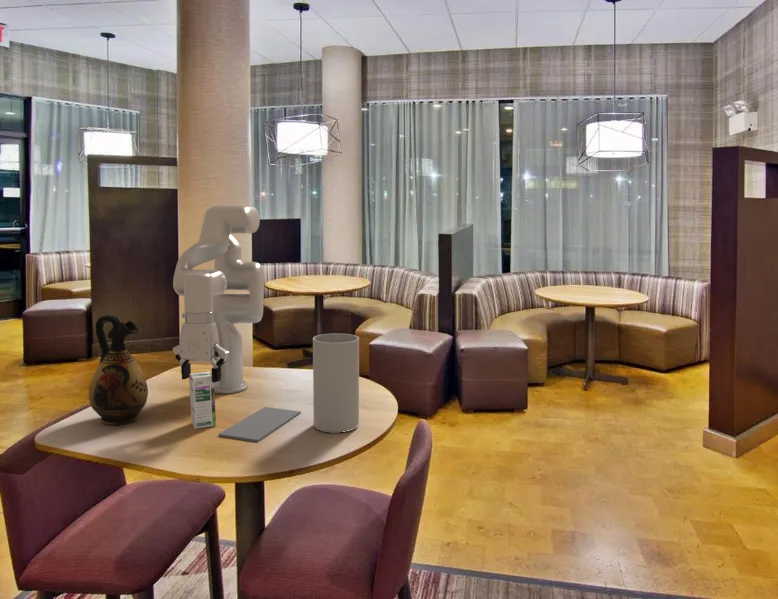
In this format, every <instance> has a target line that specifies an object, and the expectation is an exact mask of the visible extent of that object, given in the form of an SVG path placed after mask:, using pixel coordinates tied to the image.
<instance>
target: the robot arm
mask: <svg viewBox="0 0 778 599" xmlns="http://www.w3.org/2000/svg"><path fill="white" fill-rule="evenodd" d="M260 223H261V222H260V213H259V211H258V210H257V208H256V207H255V206H247V205H213V206H211V207H209V208H207V209H206V210H205V213H204V217H203V221H202V224H201V225H202V226H201V230H200V233H199V238H198V241H197V242H195V243H194V244H192V245H191V246H190V247H189V248H187V249H186V250H185V251H183V253H182V254H181V255H180V256H179V257H178V261H177V263H176V266H175V271H174V274H173V279H172V280H173V281H172V283H173V284H172V287H173V290H174V292H175V293H176V295H179V296H182V297H183V302H184V312H183V313H182V314H181V317H182V318H184V322H182V324H181V329H180V334H179V335H180V337H179V344H178V345H176V346H174V347H172V352H173V354H174V355H175V356H174V357H175V359H176V360H177V361H178V364H179V366H180V371H181V373H180V374H181V379H182V380H186V379H189V374H192V373H191V372H192V371H191V370H192V369H191V367H192V366H191V364H192V363H191V362H190V361H195V362H209V363H210V365H211V366H212V368H211V373H212V382H213V383H214V388H215V394H234V393H239V392H244V391H246V390H247V389H248V388H249V383H248V382H247V381H244V372H243V370H244V369H243V365H244V362H243V337H242V334H241V331H240V330H239V328H238V327H237V326H236V324H257V323H259V322H261V321H262V318H263V315H264V297H265V296H264V295H265V292H264V291H265V287H264V286H265V276H264V270H263V267H262V265H261V263H259V262H257V261H242V251H243V250H242V246H241V244H240V242H239V241H238V240H237V238H235V237H234V236H233V234H253V233H256V232H257V230H259V227H260ZM212 260H214V265H213V266H214V267H213V268H214V269H195V268H196V267H197V266H200V265H202V264H205V263H207V262H211V261H212ZM225 291H247V292H249V293H224V292H225Z"/></svg>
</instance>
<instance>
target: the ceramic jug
mask: <svg viewBox="0 0 778 599" xmlns="http://www.w3.org/2000/svg"><path fill="white" fill-rule="evenodd" d="M107 323H111V325H112V327H111V329H110V330H109V331H108V332H107V337H106V333H105V331H104V325H105V324H107ZM94 326H95V327H94V328H95V334H96V337H97V341H98V344H99V347H100V349H101V356H100V359H99V364H98V366H97V368H96V369H95V372H94V373H93V376H92V378H91V381H90V385H89V388H88V389H89V390H88V400H89V404H90V406H91V409H92V410H93V411H94V412H95V413H96V414H97V415H99V417H100V421H101V423H103V424H104V425H108V426H113V427H114V426H115V427H119V426H122V425H129V424H132V423H135V422H136V420H137V419H138V415H139V413H141V411H142V410H143V408H144V407H145V405H146V404H147V400H148V396H149V388H148V383H147V379H146V375H145V373H144V371H143V370H142V368H141V366H140V365H139V363H138V362H137V360H136V359H135V357H133V355H132V354H131V353H130V351H129V350H128V349H127V347H126V345H125V340H126V339H127V338H129V337H131V336H134V335H136V334H138V333H139V332H140V330H139V328H138V327H137V325H136V324H135V323H134V322H133V321H131V320H129V321H127V322H124V321H122V322H121V321H120V319H119V318H118V317H117V316H115V315H113V314H107V313H106V314H104V315H102V316H100V317H98V319H97V321H96V322H95V325H94ZM107 338H108V339H111V344H110V347H109V344H108V342H107Z"/></svg>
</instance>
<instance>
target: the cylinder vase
mask: <svg viewBox="0 0 778 599" xmlns="http://www.w3.org/2000/svg"><path fill="white" fill-rule="evenodd" d="M312 380H313V381H312V384H313V385H312V386H313V387H312V388H313V390H312V392H313V393H312V394H313V395H312V398H313V405H312V406H313V426H314V428H315V429H316V430H318V431H319V430H320V431H319V432H322V431H323V433H326V432H329V433H328V434H339V433H338V432H343V431H347V430H350V429H353V428H355V427H356V426H357V425H358V424H360V337H359V336H357V335H354V334H351V333H338V332H337V333H334V332H333V333H323V334H318V335H315V336H313V337H312ZM358 426H359V425H358ZM358 426H357V427H358ZM355 429H356V428H355Z"/></svg>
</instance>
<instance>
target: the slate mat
mask: <svg viewBox="0 0 778 599" xmlns="http://www.w3.org/2000/svg"><path fill="white" fill-rule="evenodd" d="M300 413H301V414H302V411H301V410H299V411H298V410H293V409H292V410H291V409H283V408H275V407H269V406H268V407H267V406H265V407H262V408H261V409H259V410H258V411H256V412H254V413H252V414H251V415H249V416H247V417H245V418H243V419H241V421H239V422H237V423H235V424H233V425H232V426H230V427H228V428H227V429H225V430H223V431H221V432H219V433H218V437H223V438H229V439H234V440H235V439H236V440H242V441H248V442H255V443H259V442H260V441H262V440H264V439H265V438H267V437H268V436H270V435H271V434H273V433H274V432H275V431H277V430H279V429H280V428H282V427H283V426H285V425H286V424H288V423H289V422H290V420H291V421H292V420H294V419H295V418H296V416H297V415H298V416H299V414H300ZM301 414H300V415H301ZM298 416H297V417H298ZM294 417H295V418H294ZM293 418H294V419H293Z"/></svg>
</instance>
